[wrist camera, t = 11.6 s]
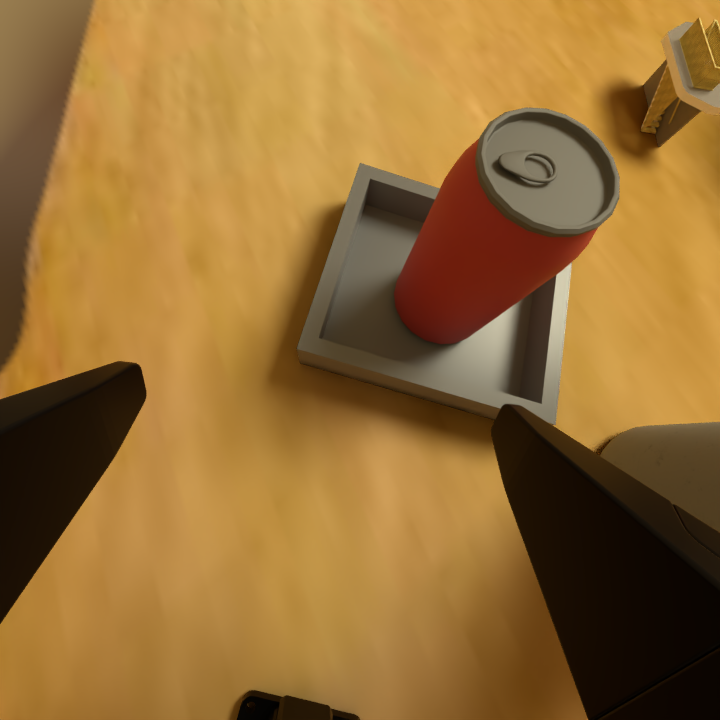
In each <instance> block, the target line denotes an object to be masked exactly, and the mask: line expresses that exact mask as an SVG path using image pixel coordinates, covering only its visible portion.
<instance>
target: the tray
mask: <svg viewBox="0 0 720 720" xmlns="http://www.w3.org/2000/svg"><path fill="white" fill-rule="evenodd" d="M439 190H440V189H439V188H436V187H433V186H430V185H427V184H424V183H421V182H418V181H414V180H411V179H408V178H405V177H402V176H399V175H396V174H393V173H390V172H387V171H383V170H380V169H377V168H374V167H371V166H368V165H365V164H362V163H360V164H359V167H358V170H357V173H356V176H355V179H354V182H353V185H352V188H351V191H350V194H349V197H348V199H347V202H346V205H345V208H344V211H343V214H342V217H341V220H340V223H339V226H338V229H337V232H336V235H335V238H334V240H333V243H332V246H331V249H330V252H329V255H328V258H327V261H326V264H325V267H324V270H323V273H322V276H321V278H320V281H319V284H318V287H317V290H316V293H315V296H314V299H313V302H312V305H311V308H310V311H309V314H308V317H307V319H306V322H305V325H304V328H303V331H302V334H301V337H300V340H299V343H298V346H297V353H298V356H299V360H300V363H302V364H305V365H308V366H312V367H315V368H319V369H322V370H325V371H329V372H332V373H336V374H339V375H343V376H346V377H349V378H353V379H356V380H360V381H363V382H367V383H370V384H373V385H377V386H380V387H384V388H387V389H391V390H394V391H397V392H401V393H404V394H408V395H411V396H415V397H418V398H421V399H425V400H428V401H432V402H435V403H439V404H442V405H445V406H449V407H452V408H456V409H459V410H463V411H466V412H469V413H473V414H476V415H480V416H483V417H487V418H490V419H493V420H495V419H496V417H497V415H498V413H499V411H500V409H501V407H502V406H503V405H504V404H516V405H521V406H523V407H524V408H526V409H527V410H529V411H531V412H532V413H534V414H535V415H537V416H538V417H540V418H541V419H543V420H545V421H546V422H548V423H549V424H551V425H556V415H557V405H558V395H559V385H560V375H561V365H562V355H563V345H564V335H565V326H566V316H567V306H568V296H569V286H570V276H571V266H572V262H571V263H570V264H569V265H568V266H567V267H566V268H565V269H564V270H562V271H561V272H560V273H558V274H557V275H555V276H554V277H553V278H551V279H550V280H548V281H547V282H546V283H544V284H543V285H541V286H540V287H539V288H537V289H536V290H534V291H533V292H532V293H530V294H529V295H527V296H526V297H525V298H523V299H522V300H520V301H519V302H518V303H516V304H515V305H513V306H512V307H511V308H509V309H508V310H506V311H505V312H504V313H502V314H501V315H499V316H498V317H497V318H495V319H494V320H492V321H491V322H490V323H488V324H487V325H485V326H484V327H483V328H481V329H480V330H478V331H477V332H475V333H474V334H473V335H471V336H470V337H468V338H467V339H464V340H462V341H459V342H457V343H453V344H438V343H434V342H430V341H426V340H424V339H422V338H421V337H419V336H417V335H416V334H414V333H412V332H411V331H410V329H409V328H408V327H407V326H406V325H405V324H404V323H403V322H402V320H401V318H400V316H399V314H398V311H397V309H396V306H395V297H394V291H395V287H396V283H397V279H398V277H399V275H400V273H401V271H402V269H403V267H404V264H405V262H406V260H407V258H408V256H409V254H410V252H411V250H412V247H413V245H414V243H415V241H416V239H417V237H418V235H419V233H420V231H421V228H422V226H423V224H424V222H425V220H426V218H427V216H428V214H429V211H430V209H431V207H432V205H433V203H434V201H435V199H436V197H437V194H438V192H439Z"/></svg>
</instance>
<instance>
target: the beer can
mask: <svg viewBox="0 0 720 720" xmlns="http://www.w3.org/2000/svg"><path fill="white" fill-rule="evenodd" d="M618 200H619V174H618V171H617V168H616V165H615V162H614V159H613V157H612V156H611V154H610V153H609V151H608V150H607V148H606V147H605V145H604V144H603V142H602V141H601V140H600V139H599V138H598V137H597V136H596V135H595V134H594V133H593V132H592V131H590V130H589V129H588V128H587V127H586V126H585V125H583V124H581V123H579V122H578V121H576V120H574V119H573V118H571V117H569V116H567V115H565V114H562V113H558V112H555V111H552V110H549V109H542V108H522V109H518V110H514V111H509V112H505V113H503V114H502V115H500V116H499V117H497V118H496V119H494V120H493V121H491V122H490V123H489V124H488V126H487V127H486V129H485V130H484V132H483V133H482V135H481V136H480V138H479V139H478V140H477V141H476V142H475V143H473V144H472V145H471V146H470V147H469V148H468V149H467V150H465V152H464V153H463V154H462V155H461V157H460V158H459V159H458V160H457V162H456V163H455V164H454V166H453V167H452V169H451V170H450V172H449V173H448V175H447V176H446V178H445V180H444V182H443V184H442V186H441V188H440V190H439V192H438V194H437V197H436V199H435V201H434V203H433V205H432V207H431V209H430V211H429V214H428V216H427V218H426V220H425V222H424V224H423V226H422V228H421V231H420V233H419V235H418V237H417V239H416V241H415V243H414V245H413V247H412V250H411V252H410V254H409V256H408V258H407V260H406V262H405V264H404V267H403V269H402V271H401V273H400V275H399V277H398V279H397V283H396V287H395V291H394V297H395V306H396V309H397V311H398V314H399V316H400V318H401V320H402V322H403V323H404V324H405V325H406V326H407V327H408V328H409V329H410V331H411V332H412V333H414V334H416V335H417V336H419V337H421V338H422V339H424V340H426V341H430V342H434V343H438V344H453V343H457V342H459V341H462V340H464V339H467V338H468V337H470V336H471V335H473V334H474V333H475V332H477V331H478V330H480V329H481V328H483V327H484V326H485V325H487V324H488V323H490V322H491V321H492V320H494V319H495V318H497V317H498V316H499V315H501V314H502V313H504V312H505V311H506V310H508V309H509V308H511V307H512V306H513V305H515V304H516V303H518V302H519V301H520V300H522V299H523V298H525V297H526V296H527V295H529V294H530V293H532V292H533V291H534V290H536V289H537V288H539V287H540V286H541V285H543V284H544V283H546V282H547V281H548V280H550V279H551V278H553V277H554V276H555V275H557V274H558V273H560V272H561V271H562V270H564V269H565V268H566V267H567V266H568V265H569V264H570V263H571V262H572V261H573V260H575V259H576V258H577V257H578V256H579V254H580V253H581V252H582V251H583V250H584V249H585V247H586V246H587V245H588V244H589V242H590V240H591V239H592V237H593V235H594V233H595V232H596V230H597V228H598V227H599V226H600V225H601V224H602V223H603V222H604V221H606V220H607V219H608V218H609V217H610V216H611V215H612V213H613V211H614V209H615V207H616V204H617V202H618Z"/></svg>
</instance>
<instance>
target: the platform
mask: <svg viewBox="0 0 720 720" xmlns="http://www.w3.org/2000/svg"><path fill="white" fill-rule="evenodd" d="M713 21H714V22H713V23H712V24H711V25H710V26H709V27H708V28H707V29H706V30H705V31H704V28H703V25H702V22H701V19H700V18H698V19H697V20H696V21H695V22H694V23H691V22H685V23H683V24H681V25H680V26H678V27H676V28H674V29H673V30H671V31H669V32H668V33H667V34H666V35H665V37H664V38H663V39H662V45H663V49H664V52H665V56H666V60H665V61H664V62H663V64H662V65H661V66H660V67H659V68H658V69H657V70H656V71H655V72H654V74H653V75H652V76H651V77H650V78H649V79H648V80H647V81H646V82H645V84H644V85H643V87H644V91H645V95H646V99H647V103H648V107H649V110H648V112H647V114H646V117H645V119H644V122H643V124H642V127H641V129H640V130H641V132H647V133H652V134H653V133H654V134H655V136H656V140H657V144H658V147H661V146H662V145H663V144H664V143H665V142H666V141H667V140H669V139H670V138H671V137H672V136H673V135H674V134H675V133H677V132H678V131H679V130H680V129H681V128H682V127H683V126H685V125H686V124H687V123H688V122H689V121H690V120H691V119H693V118H694V117H695V116H696V115H697V114H698V113H699V112H701V111H703V112H705V113H707V114H713V115H719V114H720V59H719V58H720V43H719V42H720V34H719V33H720V27H719V24H718V21H717V20H713ZM716 25H717V26H716ZM715 26H716V27H715ZM709 28H710V29H709ZM708 29H709V30H708ZM707 30H708V31H707ZM706 31H707V32H706ZM705 32H706V33H705ZM718 34H719V35H718ZM714 36H715V37H714ZM713 37H714V38H713ZM712 38H713V39H712ZM711 39H712V40H711ZM708 40H709V41H708ZM718 43H719V44H718ZM717 44H718V45H717ZM716 45H717V46H716ZM715 46H716V47H715ZM714 47H715V48H714ZM713 48H714V49H713ZM718 52H719V53H718ZM717 53H718V54H717ZM716 54H717V55H716ZM715 55H716V56H715ZM714 56H715V57H714ZM713 57H714V58H713ZM718 59H719V60H718ZM717 62H718V63H717ZM716 63H717V64H716ZM715 64H716V65H715ZM647 126H652V127H651V128H649V127H647Z"/></svg>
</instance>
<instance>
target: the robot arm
mask: <svg viewBox="0 0 720 720" xmlns="http://www.w3.org/2000/svg"><path fill="white" fill-rule="evenodd" d="M145 399H146V387H145V383H144V378H143V374H142V370H141V367H140V366H139V365H138V364H137V363H132V362H123V361H118V362H114V363H111V364H108V365H105V366H102V367H99V368H96V369H92V370H89V371H86V372H83V373H80V374H77V375H74V376H71V377H68V378H65V379H62V380H59V381H56V382H52V383H49V384H46V385H43V386H40V387H37V388H34V389H31V390H28V391H25V392H22V393H19V394H15V395H12V396H9V397H6V398H3V399H0V624H1V622H2V621H3V619H4V618H5V616H6V615H7V614H8V612H9V611H10V609H11V608H12V606H13V605H14V603H15V602H16V600H17V599H18V597H19V596H20V595H21V593H22V592H23V590H24V589H25V587H26V586H27V584H28V583H29V581H30V580H31V579H32V577H33V576H34V574H35V573H36V571H37V570H38V568H39V567H40V565H41V564H42V563H43V561H44V560H45V558H46V557H47V555H48V554H49V552H50V551H51V549H52V548H53V546H54V545H55V544H56V542H57V541H58V539H59V538H60V536H61V535H62V533H63V532H64V530H65V529H66V528H67V526H68V525H69V523H70V522H71V520H72V519H73V517H74V516H75V514H76V513H77V512H78V510H79V509H80V507H81V506H82V504H83V503H84V501H85V500H86V498H87V497H88V495H89V494H90V493H91V491H92V490H93V488H94V487H95V485H96V484H97V482H98V481H99V479H100V478H101V477H102V475H103V474H104V472H105V471H106V469H107V468H108V466H109V465H110V463H111V462H112V460H113V459H114V457H115V455H116V454H117V452H118V450H119V449H120V447H121V445H122V443H123V441H124V439H125V438H126V436H127V434H128V432H129V430H130V428H131V426H132V424H133V423H134V421H135V419H136V417H137V415H138V413H139V411H140V410H141V408H142V406H143V404H144V402H145ZM491 437H492V441H493V445H494V449H495V453H496V457H497V461H498V465H499V469H500V473H501V477H502V481H503V485H504V488H505V491H506V494H507V497H508V500H509V503H510V506H511V508H512V511H513V514H514V517H515V519H516V522H517V525H518V528H519V530H520V533H521V536H522V539H523V541H524V544H525V547H526V550H527V552H528V555H529V558H530V561H531V563H532V566H533V569H534V572H535V574H536V577H537V580H538V583H539V585H540V588H541V591H542V594H543V596H544V599H545V602H546V605H547V607H548V610H549V613H550V616H551V618H552V621H553V624H554V627H555V629H556V632H557V635H558V638H559V640H560V643H561V646H562V649H563V651H564V654H565V657H566V660H567V663H568V665H569V668H570V671H571V674H572V676H573V679H574V682H575V685H576V687H577V690H578V693H579V696H580V698H581V701H582V704H583V707H584V709H585V712H586V715H587V718H588V720H720V532H718V531H717V530H715V529H714V528H712V527H711V526H709V525H707V524H706V523H704V522H703V521H701V520H699V519H698V518H696V517H695V516H693V515H691V514H690V513H688V512H687V511H685V510H684V509H682V508H681V507H679V506H677V505H676V504H672V503H671V501H669V500H668V499H666V498H665V497H663V496H662V495H660V494H659V493H657V492H655V491H654V490H652V489H651V488H649V487H648V486H646V485H645V484H643V483H641V482H640V481H638V480H637V479H635V478H634V477H632V476H630V475H629V474H627V473H626V472H624V471H623V470H621V469H620V468H618V467H616V466H615V465H613V464H612V463H610V462H609V461H607V460H605V459H604V458H602V457H601V456H599V455H598V454H596V453H595V452H593V451H591V450H590V449H588V448H587V447H585V446H584V445H582V444H581V443H579V442H577V441H576V440H574V439H573V438H571V437H570V436H568V435H566V434H565V433H563V432H562V431H560V430H559V429H557V428H556V427H554V426H552V425H551V424H549V423H548V422H546V421H545V420H543V419H541V418H540V417H538V416H537V415H535V414H534V413H532V412H531V411H529V410H527V409H526V408H524V407H523V406H521V405H516V404H504V405H503V406H502V407H501V409H500V411H499V413H498V415H497V417H496V419H495V421H494V424H493V426H492V429H491ZM249 702H254V703H255V706H254V707H253V708H250V707H248V705H247V703H249ZM237 720H360V718H359V717H358V716H356V715H354V714H350V713H346V712H342V711H338V710H334V709H331V708H330V707H329V706H328V705H324V704H320V703H316V702H312V701H308V700H304V699H299V698H295V697H291V696H287V695H286V696H284V697H280V696H276V695H272V694H268V693H264V692H260V691H256V690H251V691H249V692H248V693H247V694H246V695H245V696H244V698H243V700H242V704H241V707H240V710H239V714H238V717H237Z"/></svg>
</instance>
